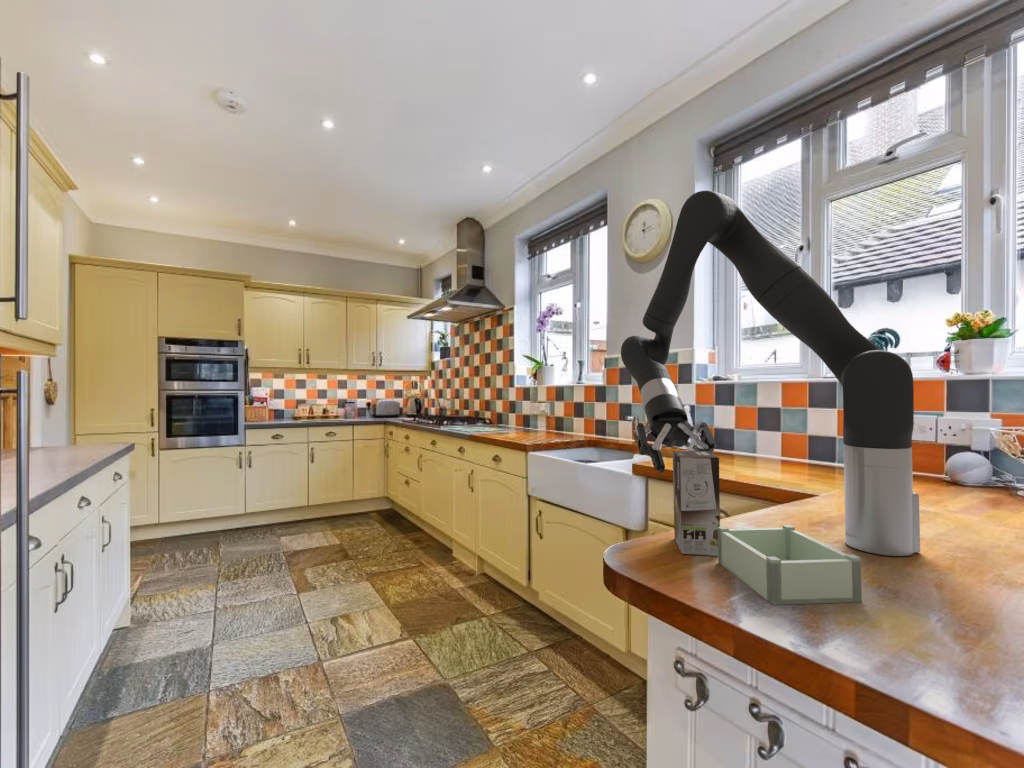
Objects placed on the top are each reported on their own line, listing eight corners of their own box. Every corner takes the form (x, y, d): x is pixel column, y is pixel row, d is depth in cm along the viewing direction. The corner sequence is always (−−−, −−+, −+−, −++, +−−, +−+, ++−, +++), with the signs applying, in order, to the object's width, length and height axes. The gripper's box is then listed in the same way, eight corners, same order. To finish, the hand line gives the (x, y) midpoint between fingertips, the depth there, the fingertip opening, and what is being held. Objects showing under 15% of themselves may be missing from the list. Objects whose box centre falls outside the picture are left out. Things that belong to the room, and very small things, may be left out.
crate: (790, 560, 75) (789, 525, 75) (861, 601, 61) (860, 557, 61) (718, 562, 75) (717, 526, 75) (772, 604, 60) (771, 560, 60)
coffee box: (722, 556, 77) (720, 457, 78) (680, 554, 79) (678, 456, 79) (710, 539, 86) (709, 450, 87) (673, 537, 88) (671, 449, 88)
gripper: (631, 392, 96) (651, 458, 84) (701, 391, 96) (730, 457, 84) (625, 417, 101) (642, 482, 89) (691, 416, 101) (717, 481, 90)
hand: (685, 470), depth 87 cm, fingers open, 8 cm apart
